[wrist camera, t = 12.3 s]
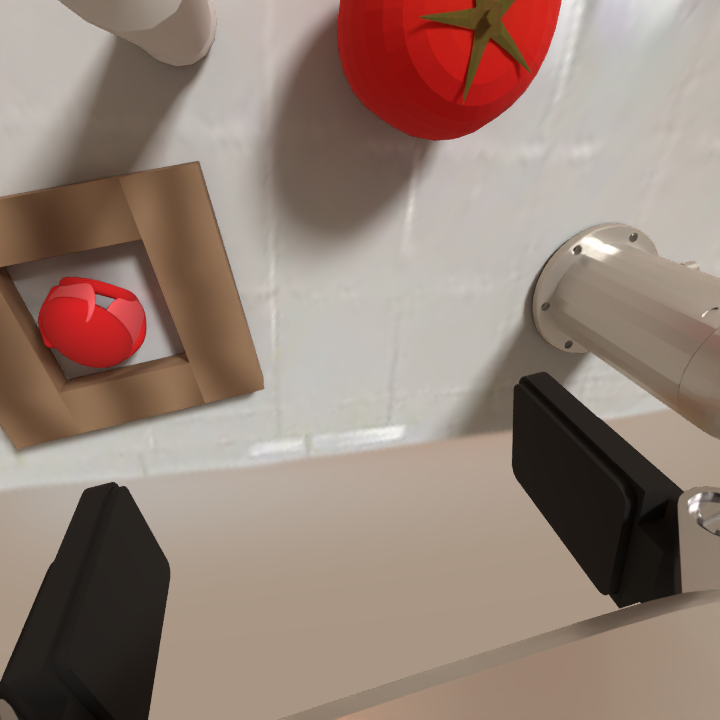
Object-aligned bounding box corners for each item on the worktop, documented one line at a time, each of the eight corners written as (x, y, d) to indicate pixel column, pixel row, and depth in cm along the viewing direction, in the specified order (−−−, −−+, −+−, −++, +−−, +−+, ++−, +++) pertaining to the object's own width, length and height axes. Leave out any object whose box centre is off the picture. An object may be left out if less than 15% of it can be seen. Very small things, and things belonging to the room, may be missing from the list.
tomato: (358, 161, 35) (411, 187, 24) (293, -28, 29) (324, -110, 18) (509, 95, 35) (629, 90, 24) (475, -108, 29) (615, -236, 18)
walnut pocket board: (199, 160, 32) (196, 163, 31) (263, 377, 41) (264, 389, 40) (-114, 217, 30) (-136, 224, 28) (26, 433, 39) (16, 448, 37)
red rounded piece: (23, 258, 30) (-3, 349, 29) (112, 275, 30) (89, 366, 29) (95, 292, 38) (76, 364, 37) (166, 304, 38) (148, 377, 37)
